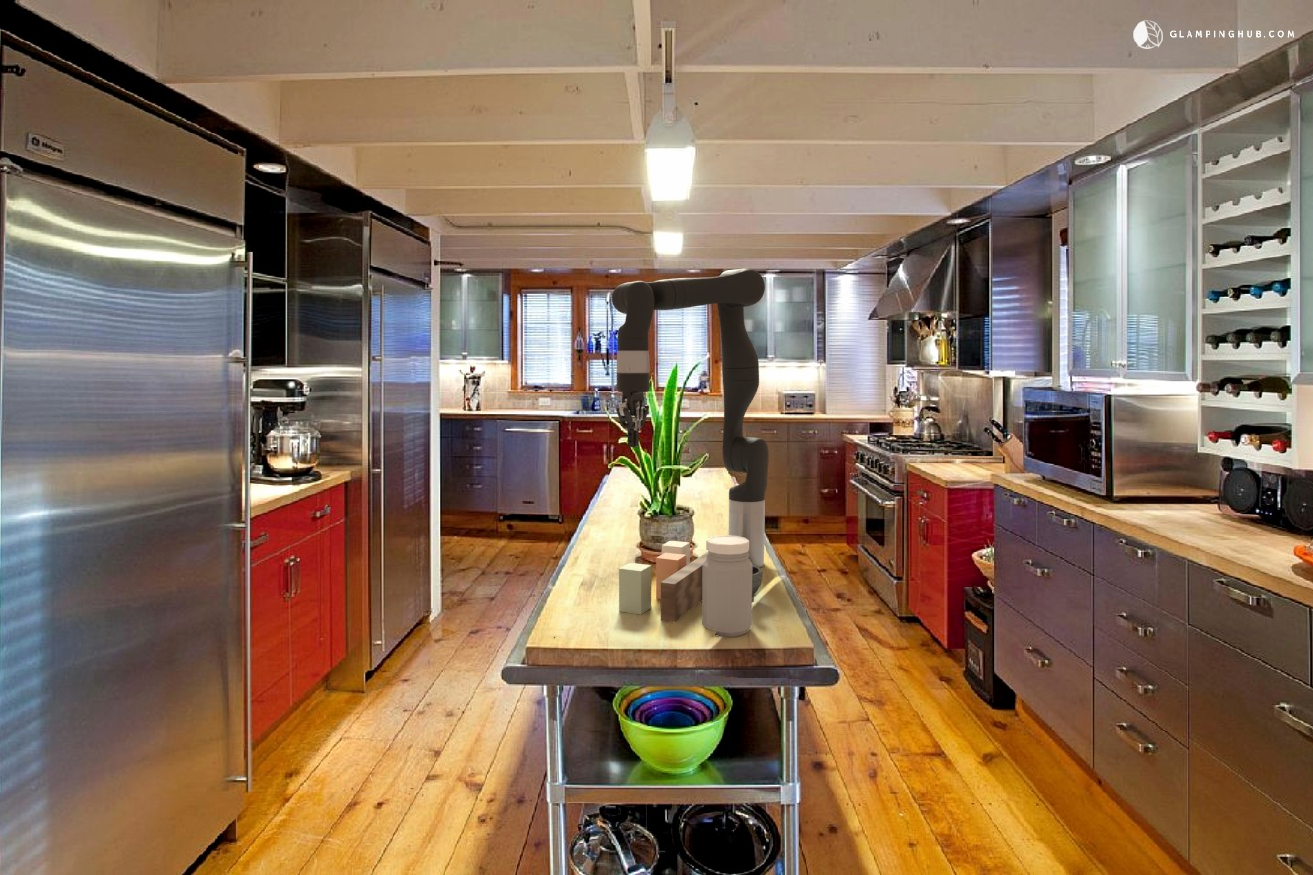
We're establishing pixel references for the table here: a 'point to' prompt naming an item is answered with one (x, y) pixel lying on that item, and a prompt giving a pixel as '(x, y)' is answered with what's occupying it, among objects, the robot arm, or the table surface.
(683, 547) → the beige block
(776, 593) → the table surface
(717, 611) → the jar
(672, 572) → the salmon block
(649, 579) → the sage block
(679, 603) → the brown wooden block
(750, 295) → the robot arm
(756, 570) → the mortar and pestle
